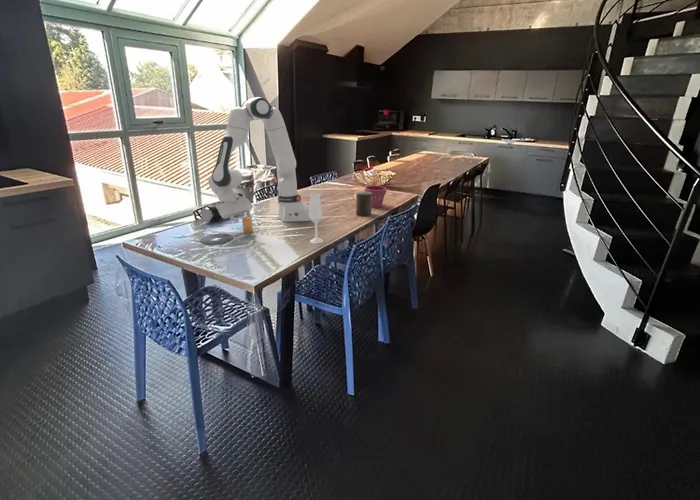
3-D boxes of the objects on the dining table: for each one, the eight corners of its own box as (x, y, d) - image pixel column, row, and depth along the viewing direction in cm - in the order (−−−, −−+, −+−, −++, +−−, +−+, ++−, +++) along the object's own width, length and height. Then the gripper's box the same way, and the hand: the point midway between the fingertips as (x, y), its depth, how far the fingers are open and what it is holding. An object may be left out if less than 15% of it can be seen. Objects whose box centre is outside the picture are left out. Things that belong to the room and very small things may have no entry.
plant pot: (389, 205, 259) (389, 186, 254) (379, 210, 248) (380, 190, 243) (371, 202, 266) (371, 184, 261) (360, 207, 255) (360, 188, 250)
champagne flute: (307, 242, 191) (305, 195, 182) (313, 238, 197) (311, 192, 188) (319, 244, 189) (318, 196, 180) (325, 239, 195) (324, 193, 186)
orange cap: (254, 230, 208) (252, 216, 206) (251, 233, 204) (249, 219, 201) (245, 230, 209) (244, 216, 206) (242, 233, 204) (240, 219, 201)
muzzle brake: (244, 213, 242) (243, 197, 239) (213, 225, 219) (211, 207, 215) (233, 211, 246) (231, 195, 242) (201, 223, 222) (198, 206, 219)
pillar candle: (363, 217, 232) (364, 193, 227) (352, 213, 239) (353, 190, 234) (374, 214, 238) (375, 191, 233) (364, 211, 245) (364, 188, 240)
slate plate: (237, 234, 202) (237, 233, 202) (225, 245, 187) (225, 244, 187) (209, 233, 204) (209, 232, 204) (194, 244, 189) (194, 243, 189)
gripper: (216, 200, 196) (231, 221, 195) (245, 192, 212) (259, 212, 211) (211, 207, 200) (226, 228, 199) (240, 199, 216) (254, 218, 215)
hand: (243, 219), depth 205 cm, fingers open, 8 cm apart
